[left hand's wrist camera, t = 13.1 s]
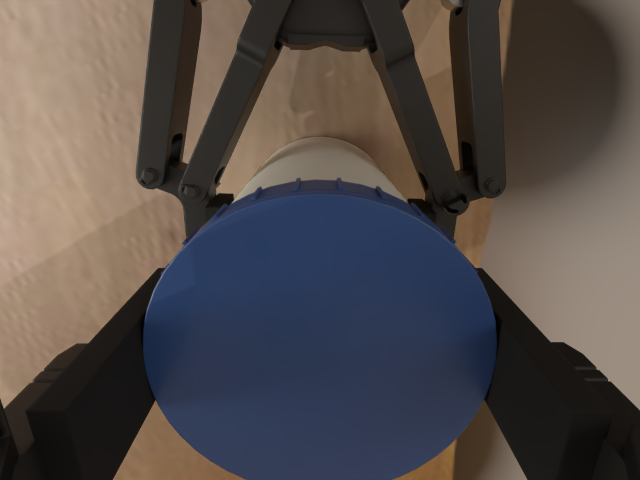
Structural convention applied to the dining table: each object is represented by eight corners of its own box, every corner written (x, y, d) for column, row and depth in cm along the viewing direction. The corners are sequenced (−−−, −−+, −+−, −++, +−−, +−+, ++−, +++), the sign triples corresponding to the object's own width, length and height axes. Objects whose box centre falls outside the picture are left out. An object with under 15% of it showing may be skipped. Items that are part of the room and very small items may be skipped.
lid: (348, 99, 10) (354, 100, 8) (533, 351, 13) (564, 387, 11) (96, 310, 12) (63, 343, 11) (300, 490, 15) (297, 538, 13)
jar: (331, 104, 23) (349, 121, 9) (417, 218, 26) (540, 375, 11) (219, 198, 25) (88, 335, 11) (310, 296, 28) (299, 515, 13)
